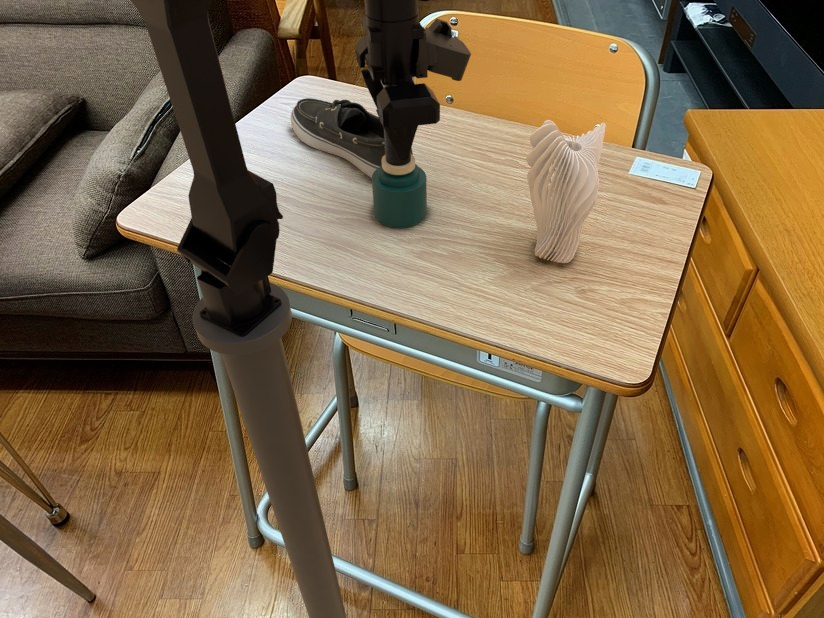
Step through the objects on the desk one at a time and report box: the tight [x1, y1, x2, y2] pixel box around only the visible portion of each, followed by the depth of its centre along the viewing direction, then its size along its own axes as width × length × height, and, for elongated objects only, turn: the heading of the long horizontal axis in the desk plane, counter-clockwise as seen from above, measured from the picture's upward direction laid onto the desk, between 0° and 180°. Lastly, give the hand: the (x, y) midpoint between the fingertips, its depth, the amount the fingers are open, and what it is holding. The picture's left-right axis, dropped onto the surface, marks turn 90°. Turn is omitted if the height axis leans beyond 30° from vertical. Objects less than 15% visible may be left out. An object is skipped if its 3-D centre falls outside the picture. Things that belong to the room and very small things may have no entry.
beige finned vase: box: [526, 119, 607, 264], centre depth 77 cm, size 8×8×18 cm
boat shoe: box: [290, 97, 414, 179], centre depth 97 cm, size 9×26×7 cm, turn 46°
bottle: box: [371, 154, 428, 229], centre depth 86 cm, size 7×7×8 cm
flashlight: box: [384, 130, 411, 166], centre depth 80 cm, size 4×4×8 cm
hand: (397, 145), depth 82 cm, fingers open, 6 cm apart
